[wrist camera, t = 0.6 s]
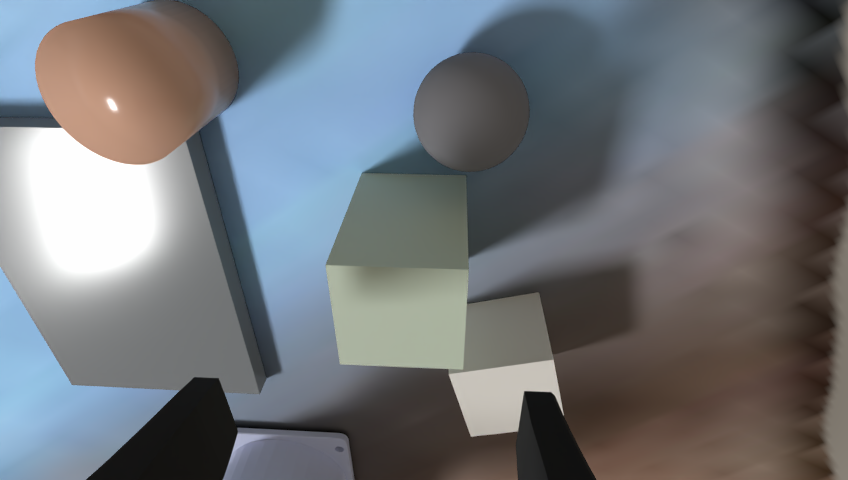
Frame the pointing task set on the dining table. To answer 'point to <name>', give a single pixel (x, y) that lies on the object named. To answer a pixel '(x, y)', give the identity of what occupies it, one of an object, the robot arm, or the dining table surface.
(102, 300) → the slate board
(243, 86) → the dining table surface
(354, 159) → the dining table surface
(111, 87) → the tan sphere
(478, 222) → the dining table surface
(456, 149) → the rubber ball
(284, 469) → the robot arm
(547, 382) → the off-white cube
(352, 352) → the sage block
